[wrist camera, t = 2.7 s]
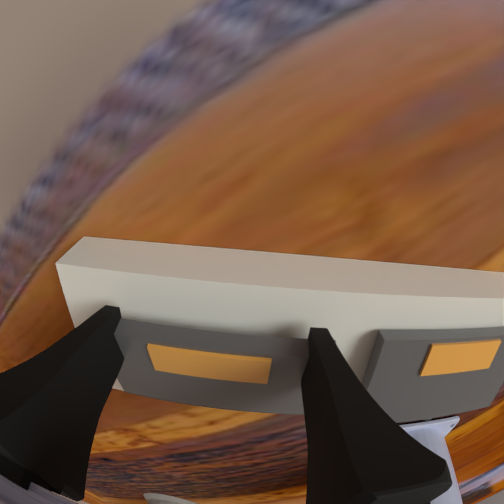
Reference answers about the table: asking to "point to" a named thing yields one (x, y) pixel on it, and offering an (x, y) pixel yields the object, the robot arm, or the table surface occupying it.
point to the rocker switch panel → (275, 292)
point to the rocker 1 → (212, 367)
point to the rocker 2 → (435, 371)
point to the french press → (164, 499)
